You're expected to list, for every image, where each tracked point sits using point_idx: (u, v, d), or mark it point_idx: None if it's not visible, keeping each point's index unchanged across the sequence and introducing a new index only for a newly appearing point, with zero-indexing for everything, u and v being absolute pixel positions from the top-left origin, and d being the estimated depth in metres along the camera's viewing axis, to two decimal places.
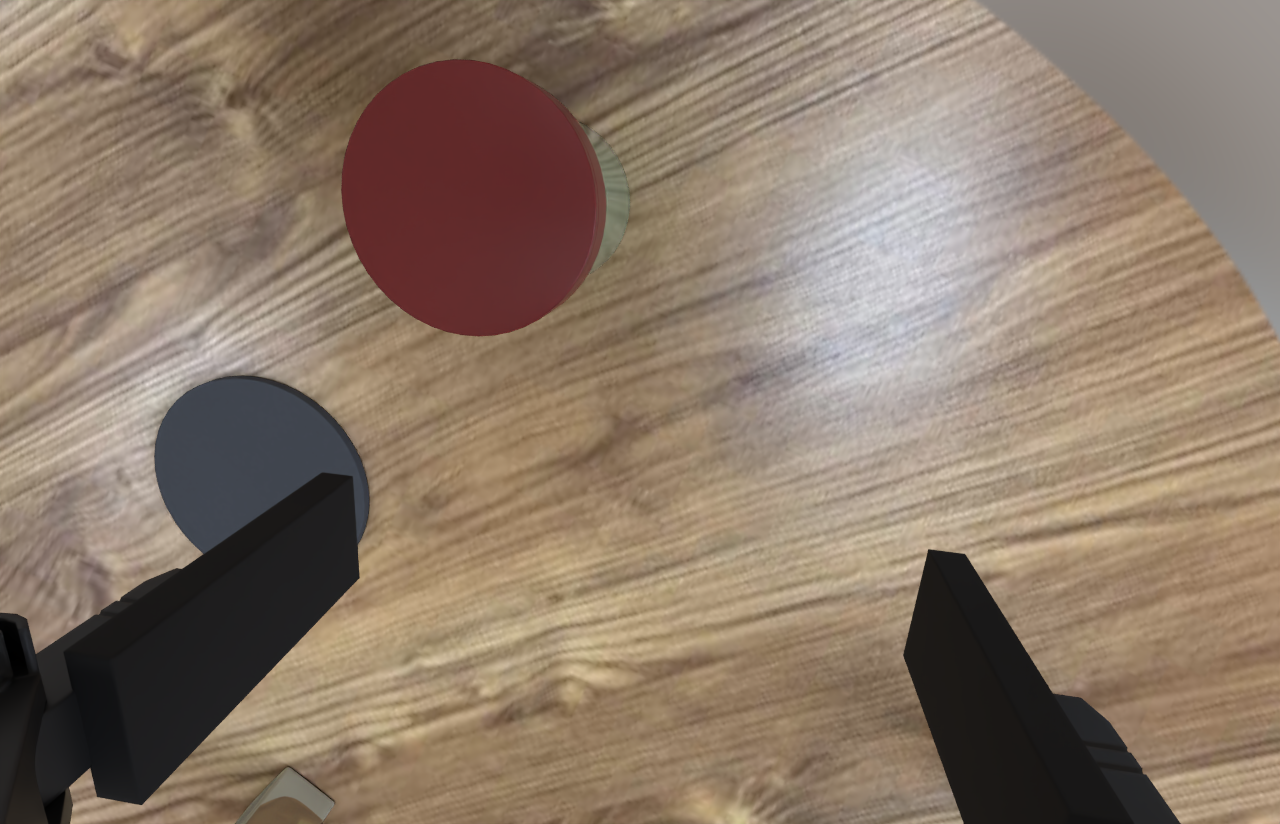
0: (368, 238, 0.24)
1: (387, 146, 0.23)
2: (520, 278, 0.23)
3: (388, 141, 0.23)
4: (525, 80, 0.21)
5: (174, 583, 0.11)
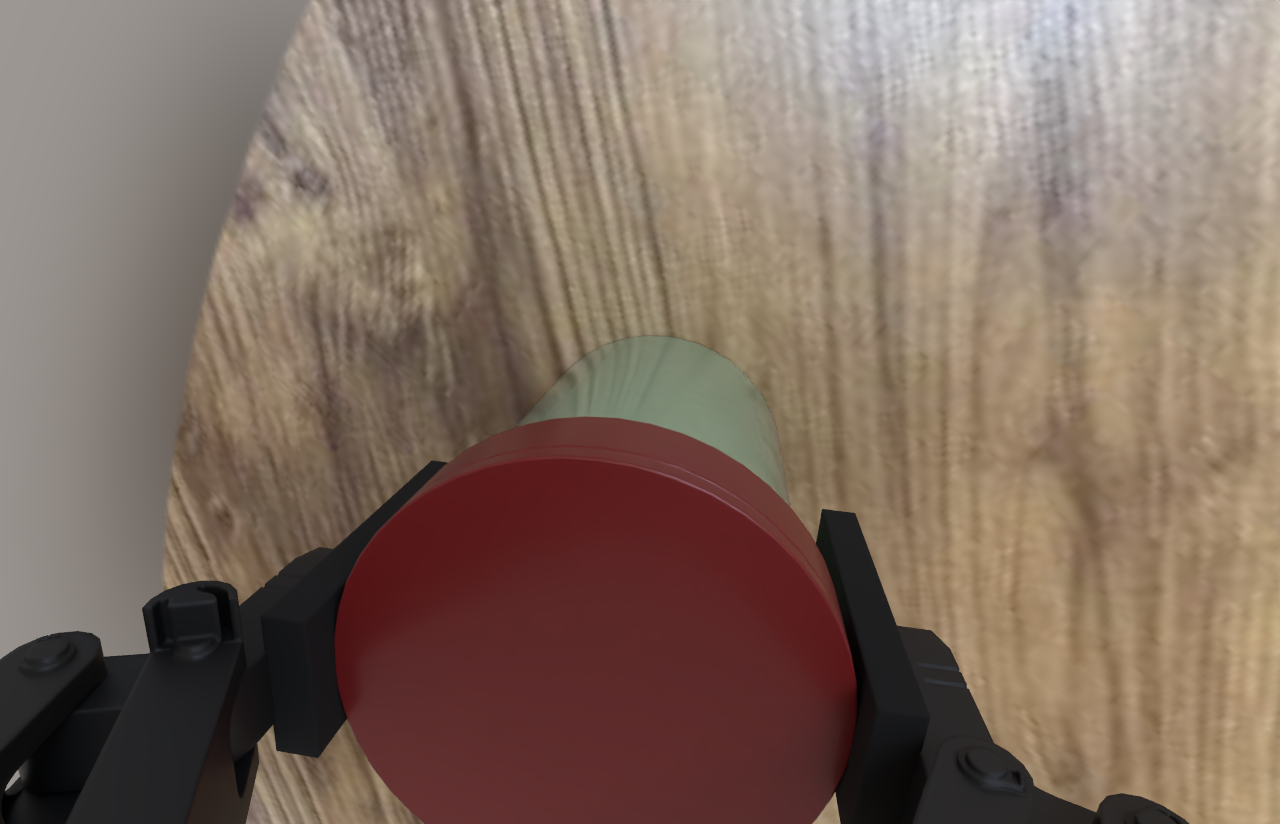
0: None
1: (456, 785, 0.12)
2: (750, 657, 0.11)
3: (448, 780, 0.12)
4: (382, 529, 0.11)
5: (335, 558, 0.12)
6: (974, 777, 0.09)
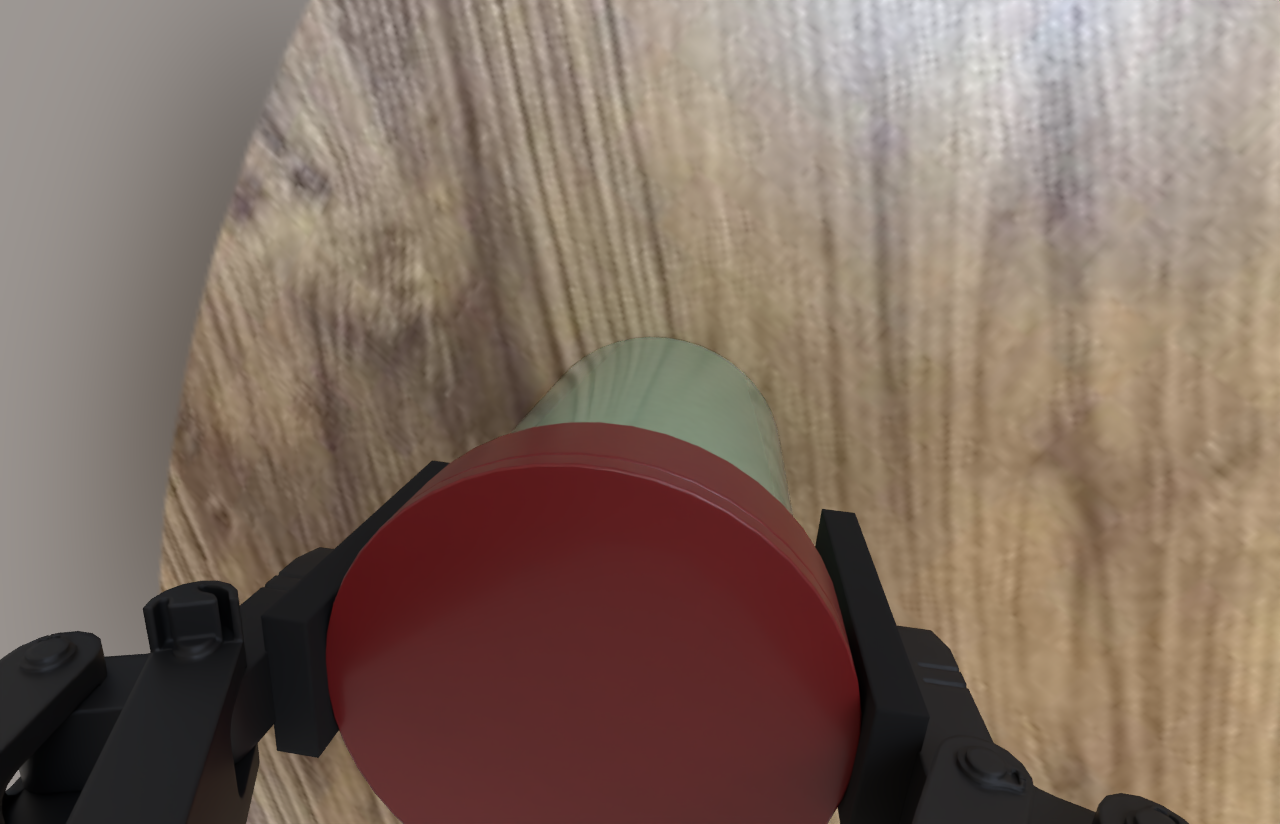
0: (817, 711, 0.11)
1: None
2: (489, 569, 0.10)
3: None
4: None
5: (336, 558, 0.12)
6: (974, 777, 0.09)
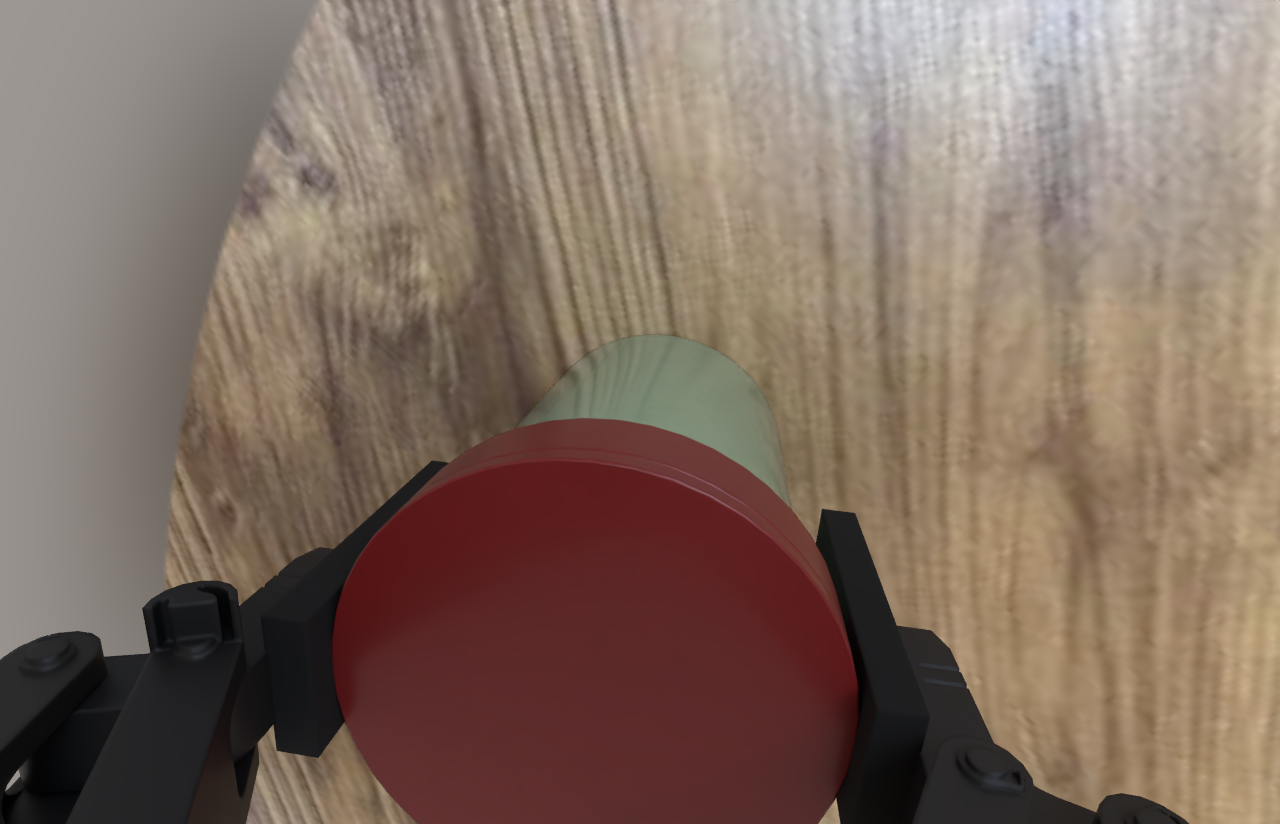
0: (526, 501, 0.10)
1: (715, 591, 0.10)
2: (446, 764, 0.12)
3: (724, 596, 0.10)
4: None
5: (335, 558, 0.12)
6: (974, 777, 0.09)
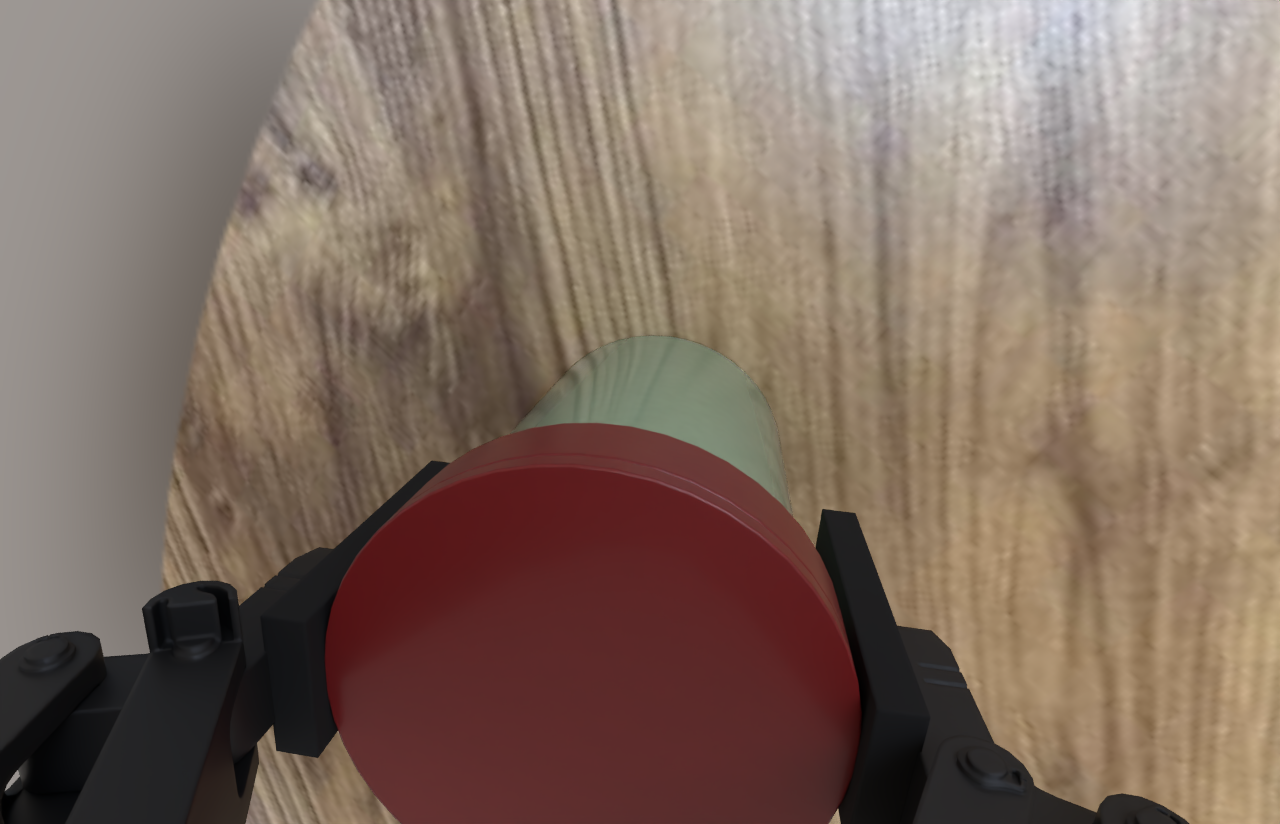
0: (377, 744, 0.12)
1: (420, 603, 0.11)
2: None
3: (423, 594, 0.11)
4: (733, 518, 0.10)
5: (335, 558, 0.12)
6: (974, 777, 0.09)
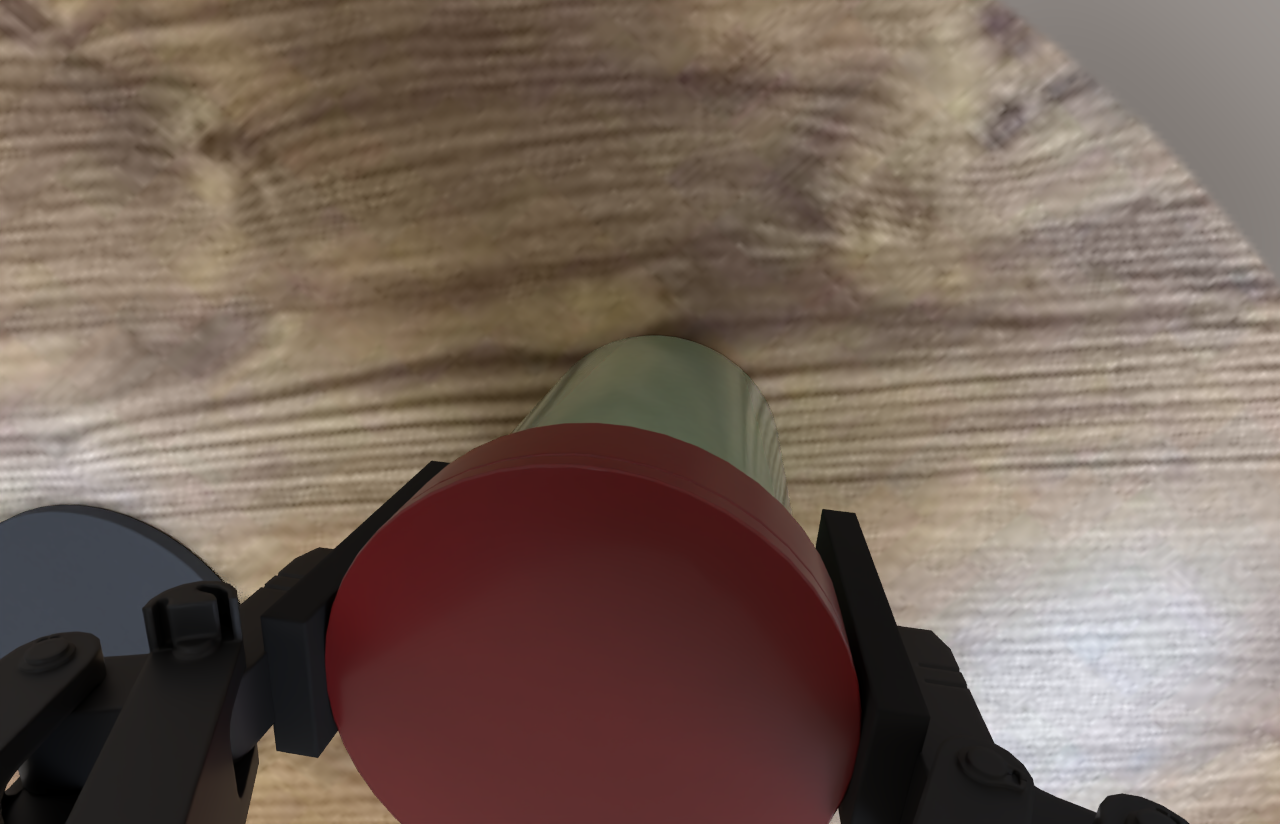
0: (377, 744, 0.12)
1: (421, 602, 0.11)
2: None
3: (424, 594, 0.11)
4: (733, 518, 0.10)
5: (335, 558, 0.12)
6: (974, 777, 0.09)
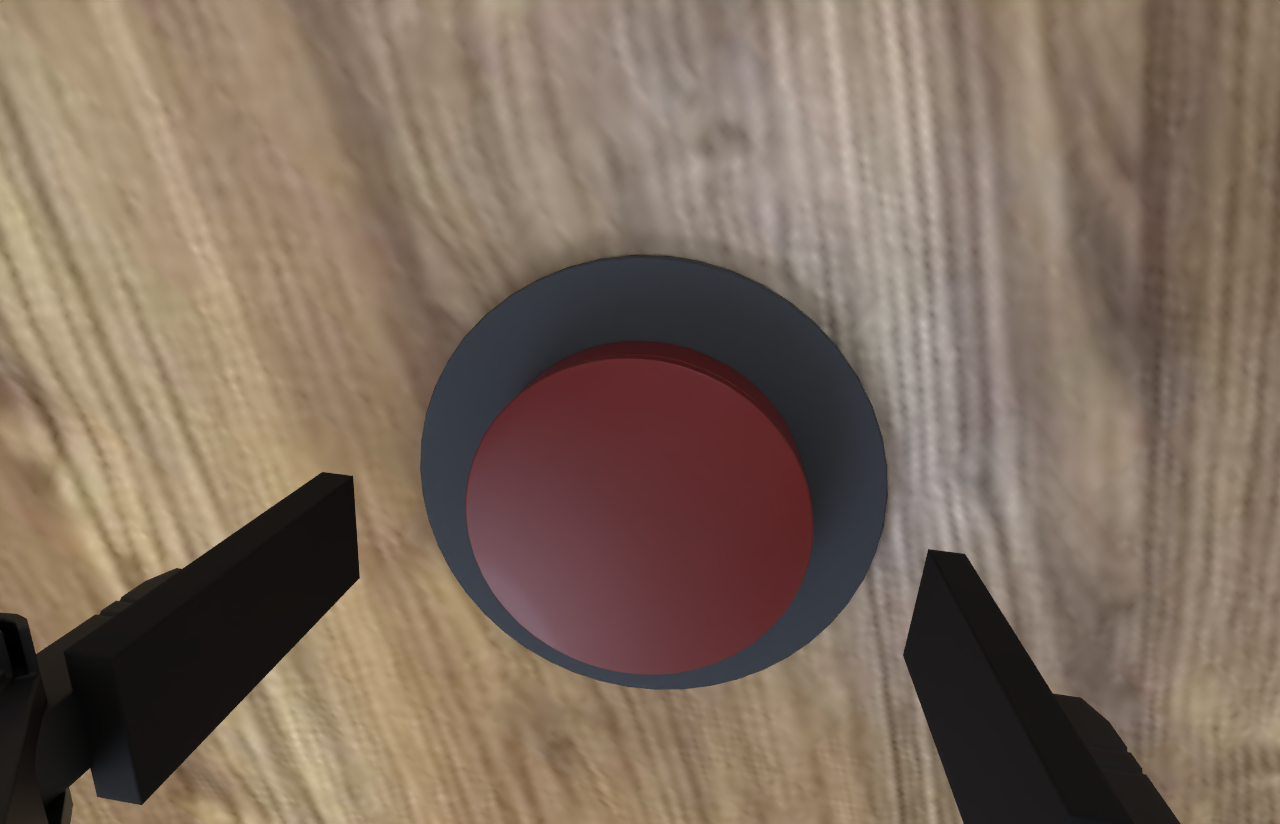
0: (497, 555, 0.18)
1: (532, 453, 0.17)
2: (698, 616, 0.18)
3: (535, 447, 0.17)
4: (732, 390, 0.16)
5: (174, 583, 0.11)
6: None
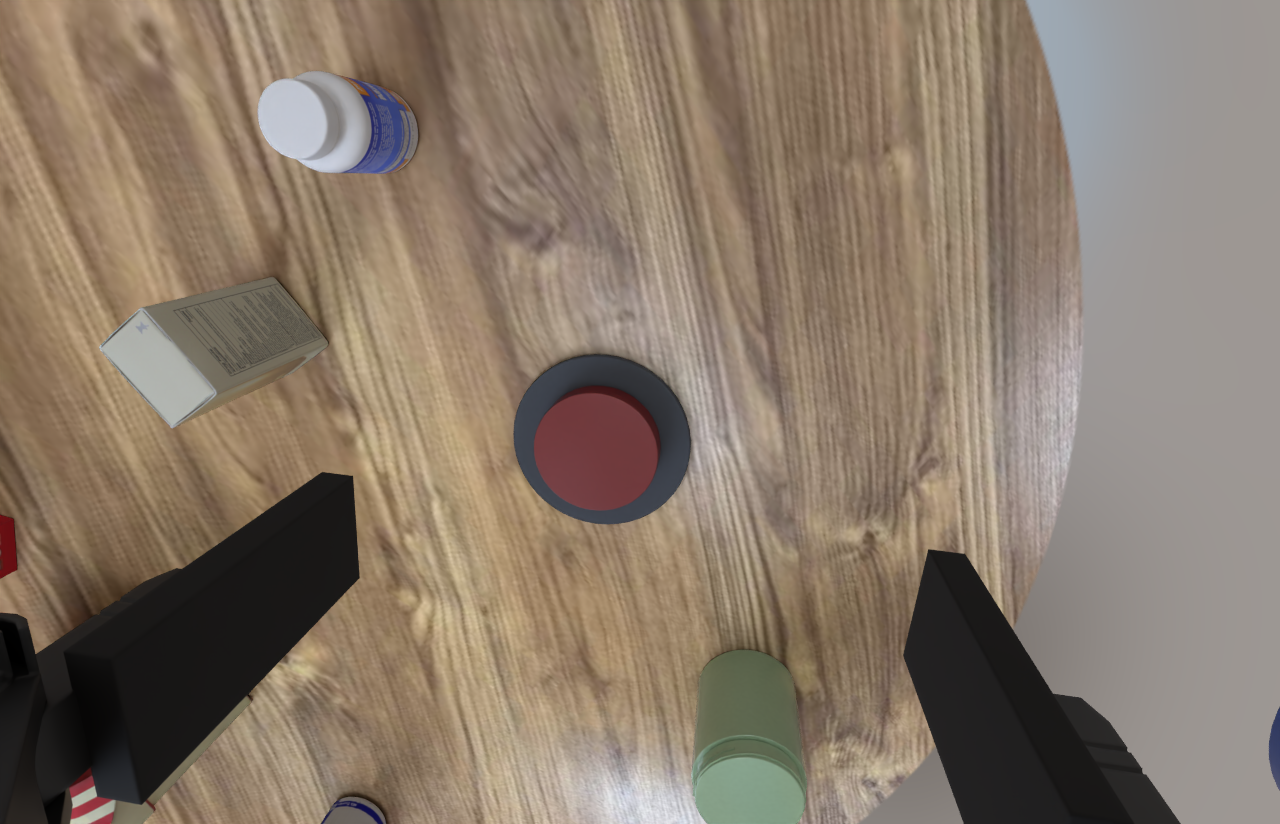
0: (545, 464, 0.49)
1: (559, 426, 0.48)
2: (619, 486, 0.48)
3: (559, 423, 0.48)
4: (627, 404, 0.46)
5: (174, 583, 0.11)
6: None
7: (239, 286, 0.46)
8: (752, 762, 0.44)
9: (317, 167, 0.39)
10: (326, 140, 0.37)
